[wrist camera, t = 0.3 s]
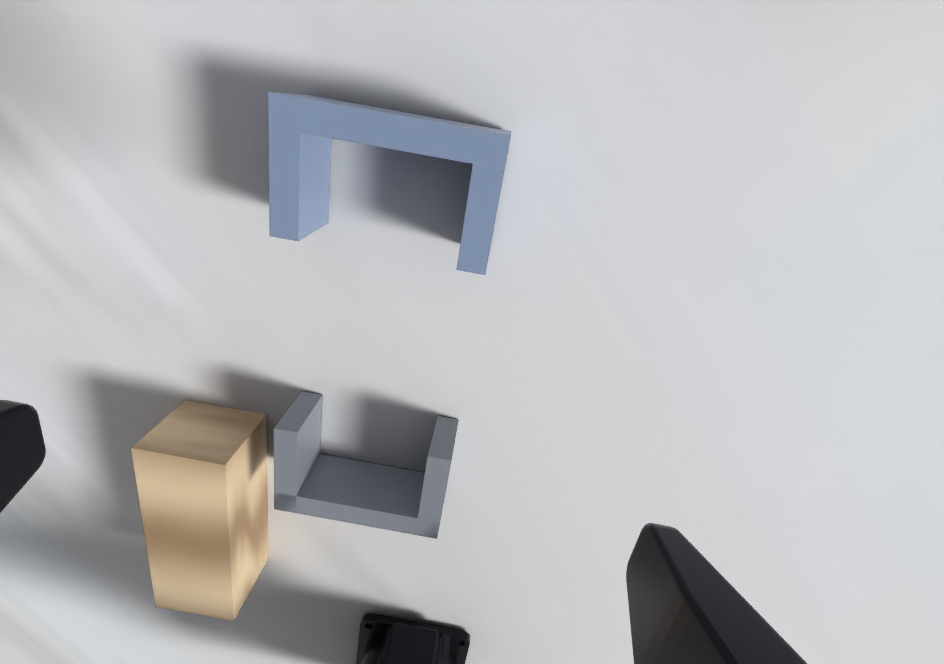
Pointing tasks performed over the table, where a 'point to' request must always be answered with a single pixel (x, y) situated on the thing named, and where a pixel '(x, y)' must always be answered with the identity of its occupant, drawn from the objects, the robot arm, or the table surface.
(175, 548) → the slat
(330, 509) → the grey u channel
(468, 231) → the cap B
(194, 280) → the table surface
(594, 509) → the table surface
